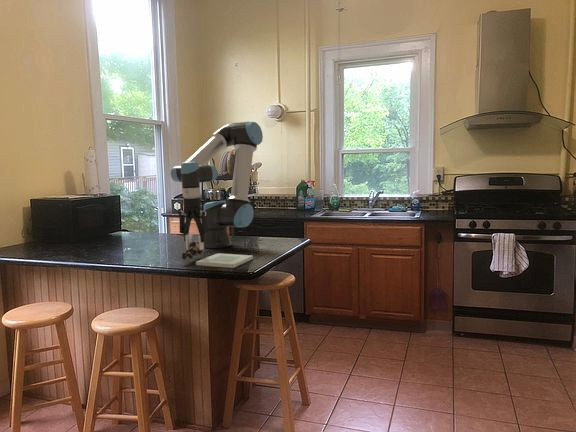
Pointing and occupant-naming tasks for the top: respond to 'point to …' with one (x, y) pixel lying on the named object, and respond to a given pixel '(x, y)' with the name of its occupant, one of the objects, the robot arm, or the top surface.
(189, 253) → the toy
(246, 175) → the robot arm
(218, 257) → the baseplate
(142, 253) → the top surface
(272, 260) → the top surface
